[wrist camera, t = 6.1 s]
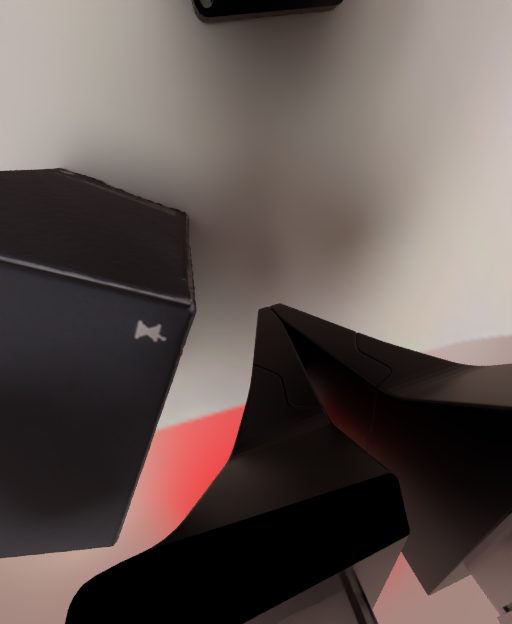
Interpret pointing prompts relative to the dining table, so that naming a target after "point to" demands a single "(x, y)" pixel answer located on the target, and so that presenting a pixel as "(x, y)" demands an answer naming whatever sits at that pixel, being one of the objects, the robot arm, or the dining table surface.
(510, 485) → the robot arm
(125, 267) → the small box
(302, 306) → the dining table surface
